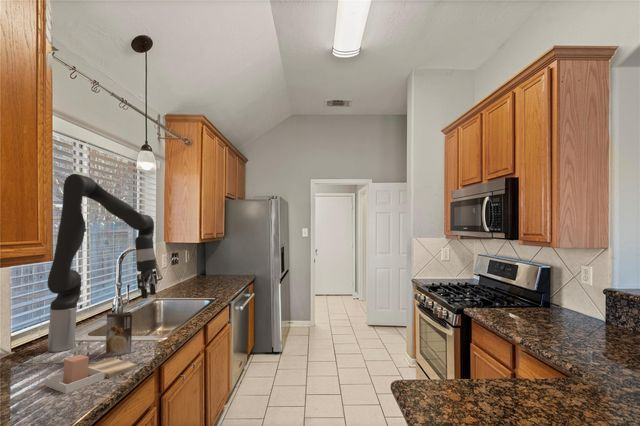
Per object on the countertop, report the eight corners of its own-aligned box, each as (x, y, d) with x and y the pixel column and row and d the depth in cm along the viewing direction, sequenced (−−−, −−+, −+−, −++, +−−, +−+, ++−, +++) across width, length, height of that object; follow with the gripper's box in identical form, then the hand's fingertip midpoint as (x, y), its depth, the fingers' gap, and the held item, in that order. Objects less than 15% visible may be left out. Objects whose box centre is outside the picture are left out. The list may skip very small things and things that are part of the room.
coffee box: (130, 348, 147) (131, 311, 148) (131, 353, 142) (133, 314, 143) (104, 352, 142) (106, 313, 143) (105, 357, 137) (107, 317, 138)
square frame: (44, 385, 112) (45, 377, 112) (83, 372, 122) (84, 365, 122) (65, 393, 106) (66, 385, 106) (104, 379, 117) (104, 371, 117)
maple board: (84, 370, 124) (85, 366, 124) (112, 361, 133) (112, 357, 133) (109, 378, 118) (109, 374, 118) (135, 368, 126) (136, 364, 127)
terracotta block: (62, 383, 113) (64, 359, 114) (78, 378, 118) (80, 354, 118) (71, 387, 111) (72, 361, 111) (87, 381, 115) (88, 357, 116)
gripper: (144, 259, 157) (147, 294, 156) (129, 261, 143) (132, 300, 142) (160, 257, 157) (164, 292, 156) (147, 259, 143) (150, 298, 142)
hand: (149, 296), depth 149 cm, fingers open, 8 cm apart
